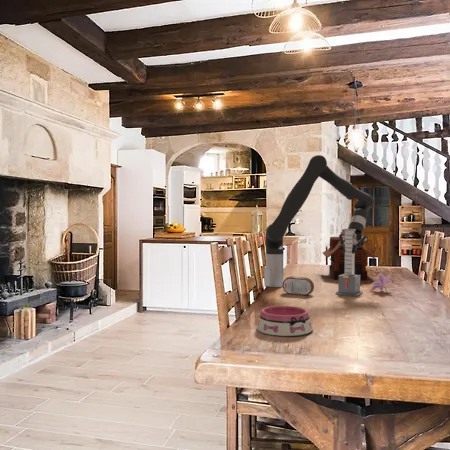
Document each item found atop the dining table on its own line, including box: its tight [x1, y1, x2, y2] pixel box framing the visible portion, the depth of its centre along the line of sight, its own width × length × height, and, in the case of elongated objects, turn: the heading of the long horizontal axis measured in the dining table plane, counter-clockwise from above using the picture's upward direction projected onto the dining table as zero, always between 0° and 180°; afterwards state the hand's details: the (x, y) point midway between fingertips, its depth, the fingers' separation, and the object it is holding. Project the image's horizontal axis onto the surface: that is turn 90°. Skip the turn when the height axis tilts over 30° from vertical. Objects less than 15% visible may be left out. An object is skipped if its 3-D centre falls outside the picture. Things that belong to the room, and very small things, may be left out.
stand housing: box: [335, 274, 364, 297], centre depth 221 cm, size 10×10×9 cm
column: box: [343, 228, 356, 276], centre depth 221 cm, size 4×4×25 cm
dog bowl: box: [256, 305, 314, 338], centre depth 153 cm, size 18×19×7 cm
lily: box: [370, 272, 393, 294], centre depth 226 cm, size 12×12×10 cm
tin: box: [282, 276, 315, 296], centre depth 219 cm, size 15×3×8 cm, turn 65°
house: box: [322, 228, 376, 281], centre depth 281 cm, size 35×28×29 cm
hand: (348, 252), depth 219 cm, fingers closed on column, 3 cm apart
